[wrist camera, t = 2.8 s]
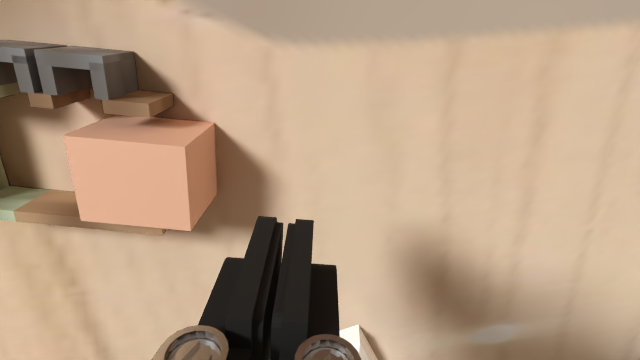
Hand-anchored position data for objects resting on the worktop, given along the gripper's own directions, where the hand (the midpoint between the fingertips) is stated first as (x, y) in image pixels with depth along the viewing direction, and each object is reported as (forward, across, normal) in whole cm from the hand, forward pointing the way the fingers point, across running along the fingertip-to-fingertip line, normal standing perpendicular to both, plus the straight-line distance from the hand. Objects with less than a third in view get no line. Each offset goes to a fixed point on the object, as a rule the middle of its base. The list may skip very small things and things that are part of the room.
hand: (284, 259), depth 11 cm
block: (+9, +7, 0) cm, 11 cm away
